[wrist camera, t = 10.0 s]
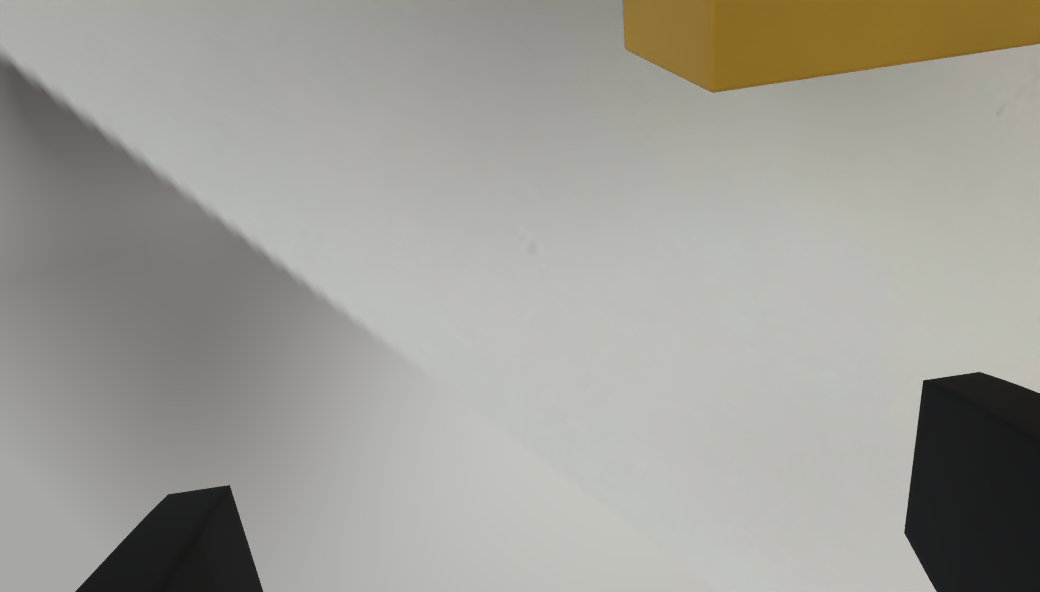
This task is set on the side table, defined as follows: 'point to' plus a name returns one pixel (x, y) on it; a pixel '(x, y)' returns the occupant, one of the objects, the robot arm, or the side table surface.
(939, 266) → the side table surface
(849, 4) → the block
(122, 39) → the side table surface
